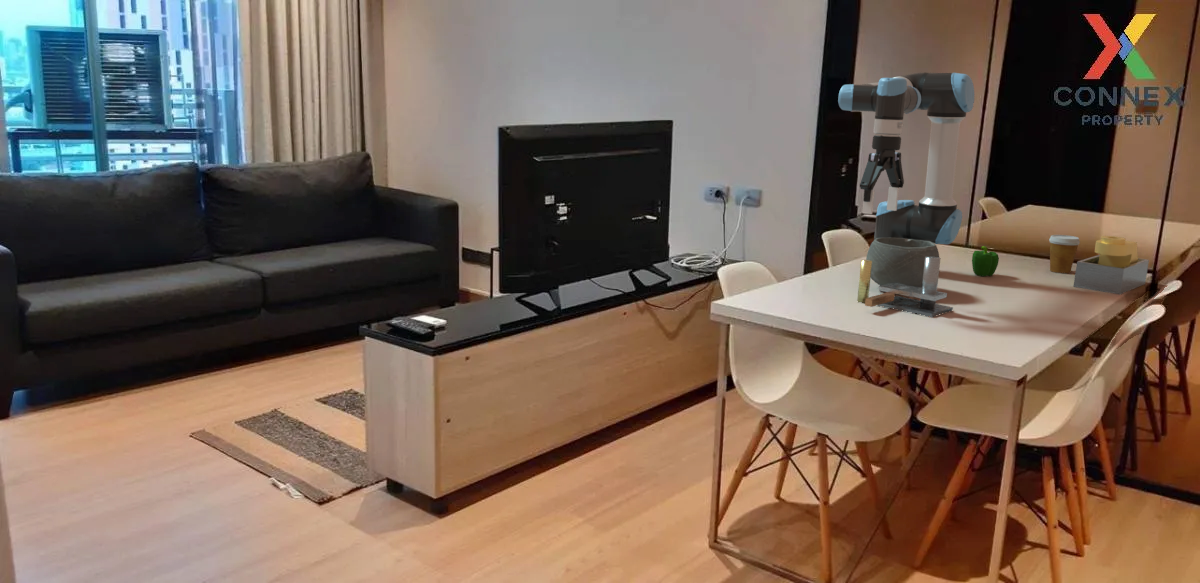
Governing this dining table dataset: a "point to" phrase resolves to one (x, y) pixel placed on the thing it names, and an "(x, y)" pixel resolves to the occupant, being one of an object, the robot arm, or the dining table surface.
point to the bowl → (899, 260)
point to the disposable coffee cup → (1062, 252)
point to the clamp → (1116, 251)
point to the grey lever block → (914, 293)
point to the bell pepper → (984, 262)
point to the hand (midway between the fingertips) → (879, 212)
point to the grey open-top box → (1110, 276)
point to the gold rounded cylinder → (864, 280)
